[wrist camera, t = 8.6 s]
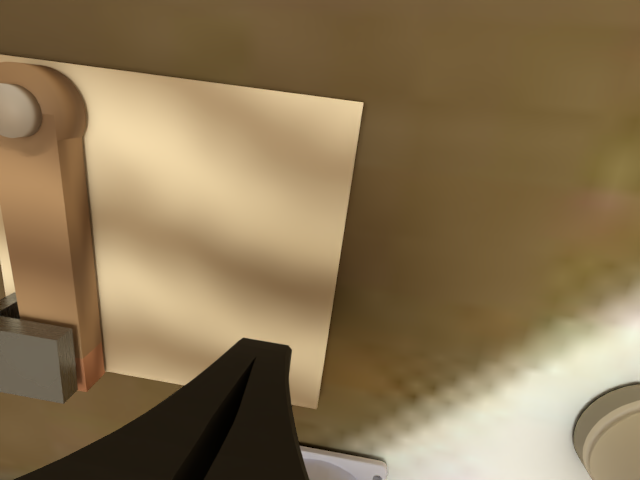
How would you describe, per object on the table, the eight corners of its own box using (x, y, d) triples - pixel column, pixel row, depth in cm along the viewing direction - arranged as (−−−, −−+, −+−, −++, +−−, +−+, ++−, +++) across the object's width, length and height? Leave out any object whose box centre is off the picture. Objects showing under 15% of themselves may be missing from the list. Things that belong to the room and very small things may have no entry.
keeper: (103, 363, 22) (63, 403, 19) (22, 348, 22) (-30, 386, 19) (100, 306, 21) (56, 340, 18) (14, 292, 21) (-43, 323, 18)
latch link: (0, 60, 17) (-48, 55, 15) (81, 69, 17) (43, 65, 15) (47, 363, 22) (16, 389, 20) (110, 373, 22) (84, 401, 20)
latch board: (318, 396, 22) (316, 408, 21) (29, 344, 23) (15, 354, 22) (363, 102, 17) (363, 102, 16) (-12, 53, 18) (-33, 50, 17)
